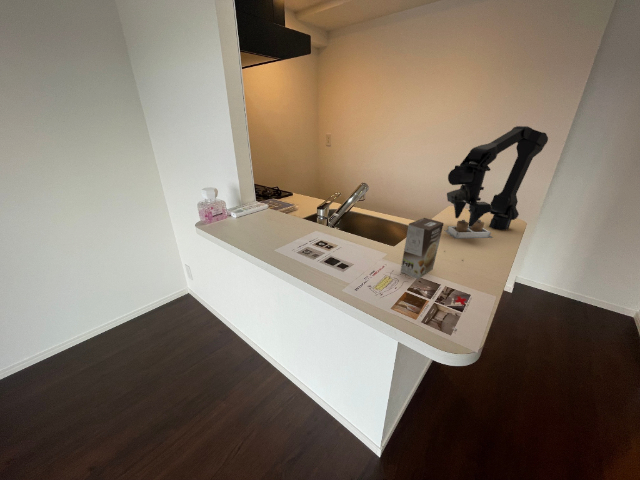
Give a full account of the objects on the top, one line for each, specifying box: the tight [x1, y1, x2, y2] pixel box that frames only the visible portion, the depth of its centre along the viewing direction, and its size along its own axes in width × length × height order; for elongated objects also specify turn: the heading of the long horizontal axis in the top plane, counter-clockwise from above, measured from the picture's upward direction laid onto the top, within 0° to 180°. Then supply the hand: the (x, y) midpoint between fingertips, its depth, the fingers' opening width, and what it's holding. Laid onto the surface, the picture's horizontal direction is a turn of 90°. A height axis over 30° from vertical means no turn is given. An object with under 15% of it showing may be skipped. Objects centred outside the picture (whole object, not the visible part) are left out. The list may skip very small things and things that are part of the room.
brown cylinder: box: [455, 219, 469, 232], centre depth 104 cm, size 4×4×6 cm
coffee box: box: [400, 217, 444, 280], centre depth 77 cm, size 9×6×16 cm
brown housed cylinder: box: [471, 218, 485, 232], centre depth 104 cm, size 4×4×6 cm
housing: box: [443, 225, 494, 240], centre depth 105 cm, size 16×8×3 cm, turn 94°
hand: (463, 222), depth 103 cm, fingers open, 9 cm apart
